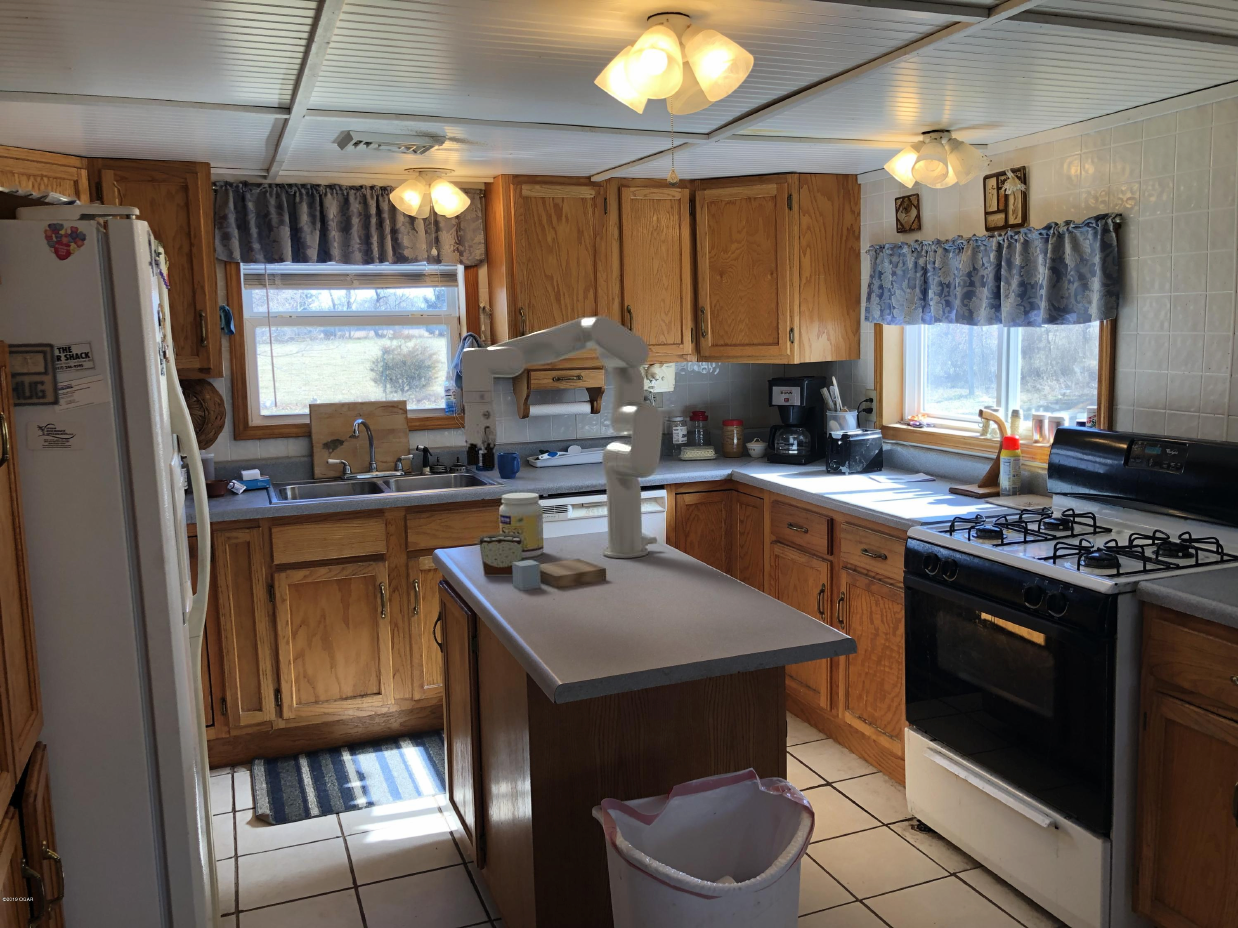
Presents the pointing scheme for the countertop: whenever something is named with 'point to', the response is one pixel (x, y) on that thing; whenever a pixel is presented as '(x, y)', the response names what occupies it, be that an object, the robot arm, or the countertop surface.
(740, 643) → the countertop surface
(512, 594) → the countertop surface
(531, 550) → the supplement tub
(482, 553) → the food container
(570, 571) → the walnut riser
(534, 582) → the slate block
